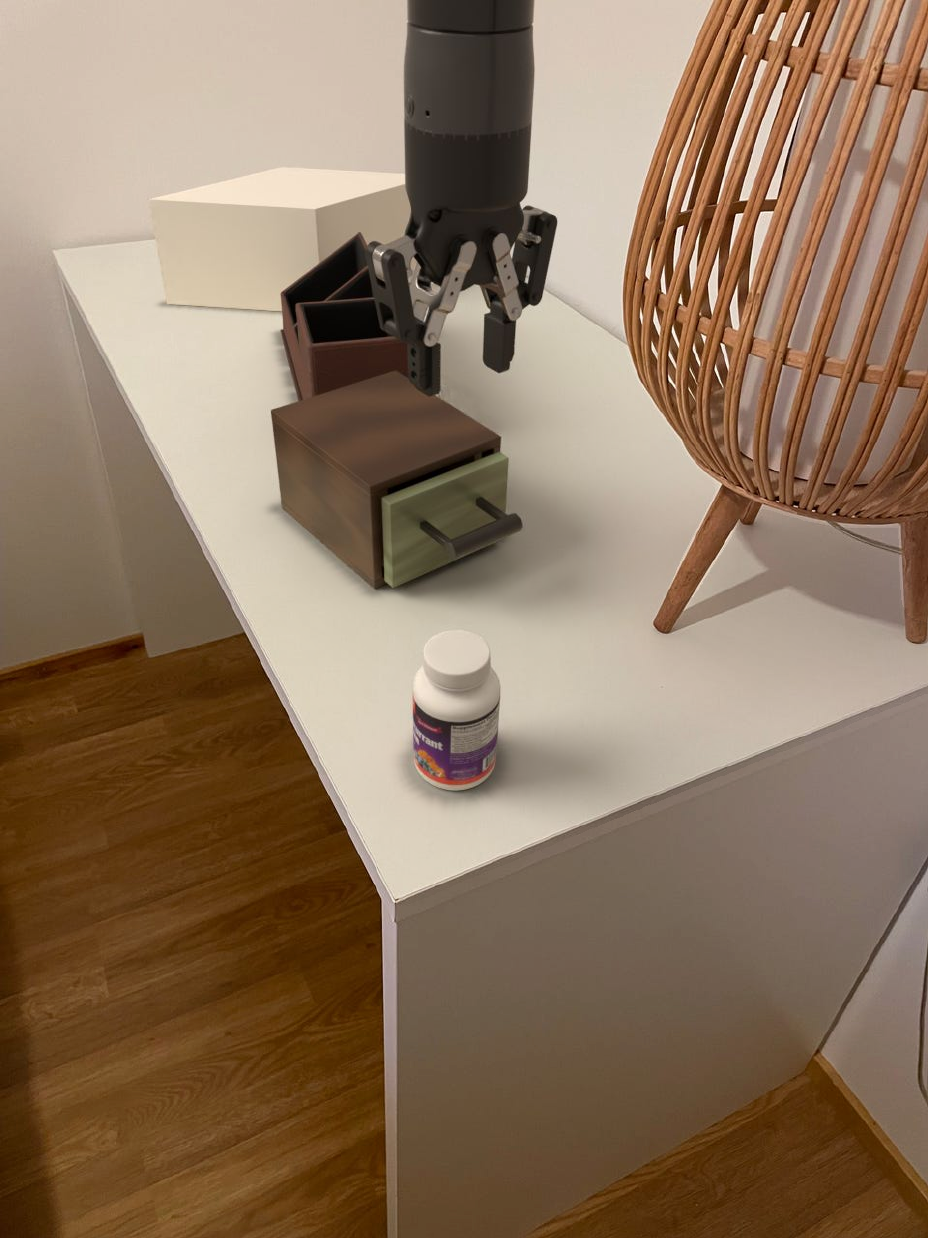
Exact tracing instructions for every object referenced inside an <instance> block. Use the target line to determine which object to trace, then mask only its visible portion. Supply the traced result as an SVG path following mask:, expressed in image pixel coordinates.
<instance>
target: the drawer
mask: <svg viewBox="0 0 928 1238" xmlns="http://www.w3.org/2000/svg"><path fill="white" fill-rule="evenodd" d="M509 460H510V457H508V456H507V455H506V454H504V453H502V452H501V451H500V452H497V453H495V454H492V455H490V456H487V457H484V458H482V452H481V453H479V454H476V455H474V456H471V457H468V458H466V459H463V460H461V461H458V462H456V463H453V464H450V465H448V466H445V467H443V468H440V469H437V470H435V471H432V472H430V473H427V474H425V475H422V476H419V477H417V478H414V479H412V480H409V481H406V482H404V483H401V484H399V485H396V486H394V487H391V488H388V489H386V490H383V491H381V492H378V493H379V508H380V533H381V558H382V566H384V578H385V582H386V583H388V584H387V585H389V586H390V587H391V588H392V589H395V588H397V587H399V586H401V585H403V584H405V583H408V582H410V581H412V580H415V579H416V578H419V577H421V576H424V575H425V574H428V573H431V572H432V571H434V570H436V569H439V568H441V567H443V566H446V565H448V564H450V563H452V562H455V561H457V560H458V559H461V558H463V557H466V556H468V555H470V554H473V553H474V552H477V551H479V550H481V549H483V548H485V547H488V546H490V545H492V544H495V543H497V542H499V541H502V540H503V539H506V538H508V537H511V536H512V535H515V534H517V533H518V532H521V531H522V530H523V527H524V526H523V520H522V518H521V517H520V515H518V514H517V513H516V512H512V513H509V514H508V513H507V511H506V509H507V496H508V495H507V493H508V479H509V477H508V475H509V462H510V461H509Z"/></svg>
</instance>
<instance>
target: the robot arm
mask: <svg viewBox="0 0 928 1238" xmlns="http://www.w3.org/2000/svg"><path fill="white" fill-rule="evenodd" d="M535 2H536V1H535V0H406V13H407V14H406V15H407V17H406V18H407V19H406V20H407V23H406V37H405V38H406V39H405V48H404V57H403V78H402V79H403V123H404V124H403V135H404V137H403V138H404V174H405V188H406V192H407V196H408V199H409V203H410V207H411V214H410V219H409V222H408V225H407V227H406V230H405V236H403V237H401V238H399V239H397V240H395V241H392V242H390V243H388V244H386V245H383V244H381V243H379V242H377V241H372V242H370V243H369V244H368V246H367V247H366V251H365V254H366V259H367V264H368V269H369V274H370V279H371V284H372V289H373V294H374V299H375V304H376V309H377V314H378V319H379V324H380V327H381V329H382V330H383V331H385V332H387V333H388V334H390V335H392V336H393V337H395V338H397V339H399V340H400V341H402V342H404V343H405V344H407V352H408V378H409V381H410V383H412V384H413V385H414V386H415V388H416V389H417V390H419V391H421V392H422V393H424V394H425V395H427V396H429V397H430V396H433V395H436V396H437V395H439V394H440V393H441V372H442V371H441V369H442V367H441V363H442V362H441V355H442V354H441V353H442V351H441V350H442V348H441V347H442V345H441V343H439V339H440V337H441V334H442V330H443V327H444V325H445V321H446V319H447V316H448V314H451V313H453V312H454V311H455V308H456V305H457V303H458V300H459V297H460V294H461V292H464V291H466V290H468V289H469V288H471V287H473V286H479V287H480V291H481V293H482V297H483V298H484V302H485V305H486V308H487V309H489V312H487V313H484V314H483V316H484V317H483V339H482V340H483V341H482V342H483V343H482V362H483V364H484V366H485V367H487V368H488V369H490V370H492V371H494V372H495V373H498V374H502V373H505V372H508V371H509V370H510V368H511V362H513V358H514V355H515V349H516V329H517V320H519V319H520V317H521V316H522V313H523V311H524V309H525V308H527V307H529V305H530V306H532V307H536V306H538V305H539V304H540V303H541V301H542V299H543V296H544V290H545V285H546V281H547V276H548V270H549V266H550V261H551V257H552V252H553V251H552V250H553V246H554V242H555V236H556V232H557V227H558V217H557V216H556V215H555V214H552V213H550V212H548V211H546V210H544V209H541V208H538V207H534V206H533V205H530V204H529V205H525V206H524V207H523V208H522V206H521V202H523V200H525V198H526V197H527V194H528V190H529V176H530V160H531V145H532V144H531V143H532V141H531V140H532V127H533V110H534V109H533V108H534V94H535V93H534V91H535V73H536V72H535V71H536V70H535V69H536V68H535V51H534V50H535V49H534V25H533V24H534V18H535ZM512 248H513V249H512ZM512 250H513V251H512ZM511 251H512V256H511ZM413 257H414V258H415V259H416V261H417V264H416V267H415V270H414V274H413V271H412V270H411V267H410V264H411V260H412V258H413ZM528 268H529V273H527V272H528ZM412 274H413V277H412V280H411V282H410V283H408V277H411V276H412ZM527 274H528V281H527V282H526V278H527ZM432 283H433V284H434V285H436V286H438V287H440V288H439V291H438V292H437V291H435V290H433V289H432Z"/></svg>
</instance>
